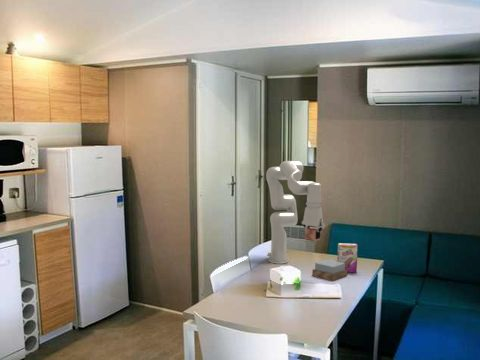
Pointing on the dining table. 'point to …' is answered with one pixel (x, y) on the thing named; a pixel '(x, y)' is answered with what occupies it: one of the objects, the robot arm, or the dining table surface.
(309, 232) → the brick-red cube
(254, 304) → the dining table surface
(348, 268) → the candy bar box
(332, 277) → the walnut base slab
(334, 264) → the grey top slab
